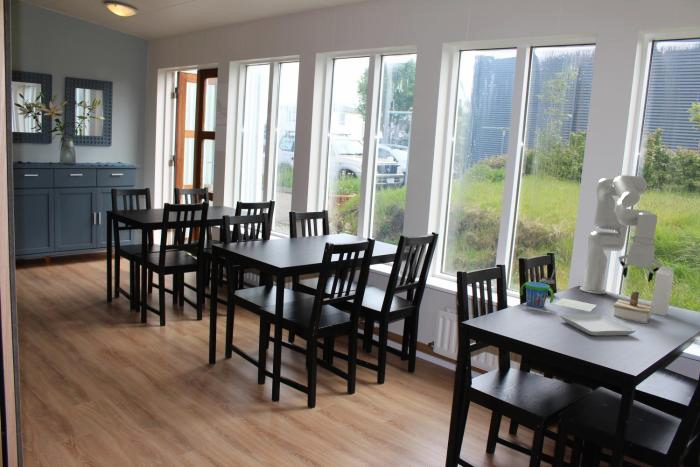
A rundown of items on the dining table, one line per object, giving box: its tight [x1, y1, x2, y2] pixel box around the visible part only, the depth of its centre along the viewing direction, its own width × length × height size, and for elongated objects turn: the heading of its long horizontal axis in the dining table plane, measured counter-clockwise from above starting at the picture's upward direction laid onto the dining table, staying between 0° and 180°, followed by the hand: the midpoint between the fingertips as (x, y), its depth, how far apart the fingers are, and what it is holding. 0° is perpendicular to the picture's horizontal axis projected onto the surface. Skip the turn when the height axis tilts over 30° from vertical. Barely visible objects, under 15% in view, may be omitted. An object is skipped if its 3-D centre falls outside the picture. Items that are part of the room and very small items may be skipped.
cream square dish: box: [613, 307, 651, 325], centre depth 260 cm, size 13×13×4 cm
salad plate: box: [559, 313, 637, 336], centre depth 238 cm, size 21×21×3 cm
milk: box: [650, 265, 675, 317], centre depth 270 cm, size 6×6×22 cm
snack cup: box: [519, 281, 555, 308], centre depth 266 cm, size 16×10×10 cm
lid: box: [613, 290, 653, 314], centre depth 260 cm, size 14×14×7 cm
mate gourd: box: [539, 264, 560, 296], centre depth 290 cm, size 8×8×15 cm
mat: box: [553, 297, 597, 312], centre depth 273 cm, size 16×16×1 cm
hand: (636, 279), depth 259 cm, fingers open, 9 cm apart
